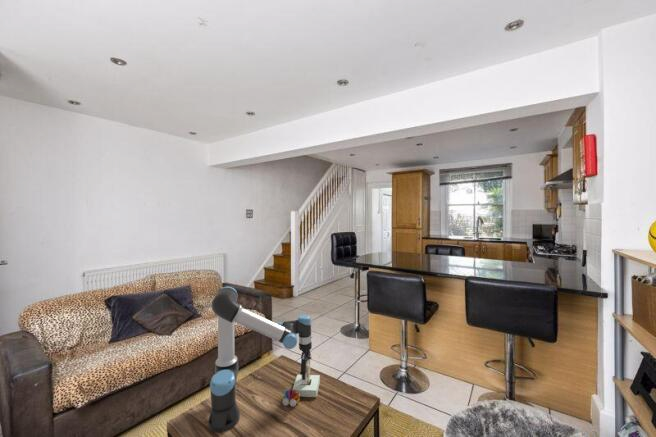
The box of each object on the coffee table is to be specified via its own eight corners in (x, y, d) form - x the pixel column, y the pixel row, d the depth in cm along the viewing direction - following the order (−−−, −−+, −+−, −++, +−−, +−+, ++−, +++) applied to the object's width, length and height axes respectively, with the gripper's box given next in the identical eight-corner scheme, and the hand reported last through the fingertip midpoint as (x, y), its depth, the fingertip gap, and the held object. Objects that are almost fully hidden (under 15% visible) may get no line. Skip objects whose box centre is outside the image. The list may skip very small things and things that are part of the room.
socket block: (292, 396, 158) (292, 389, 158) (297, 380, 172) (297, 374, 171) (316, 397, 156) (316, 390, 156) (319, 381, 170) (319, 375, 170)
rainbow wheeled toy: (297, 408, 148) (296, 395, 148) (280, 406, 150) (279, 393, 150) (301, 398, 156) (301, 385, 156) (285, 396, 158) (285, 383, 158)
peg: (302, 389, 162) (302, 366, 162) (304, 385, 166) (303, 362, 165) (309, 390, 162) (308, 367, 161) (310, 385, 166) (309, 363, 165)
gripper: (307, 353, 150) (309, 391, 151) (314, 332, 175) (315, 364, 176) (294, 353, 151) (295, 390, 152) (303, 332, 175) (304, 364, 176)
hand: (306, 376), depth 164 cm, fingers open, 13 cm apart
